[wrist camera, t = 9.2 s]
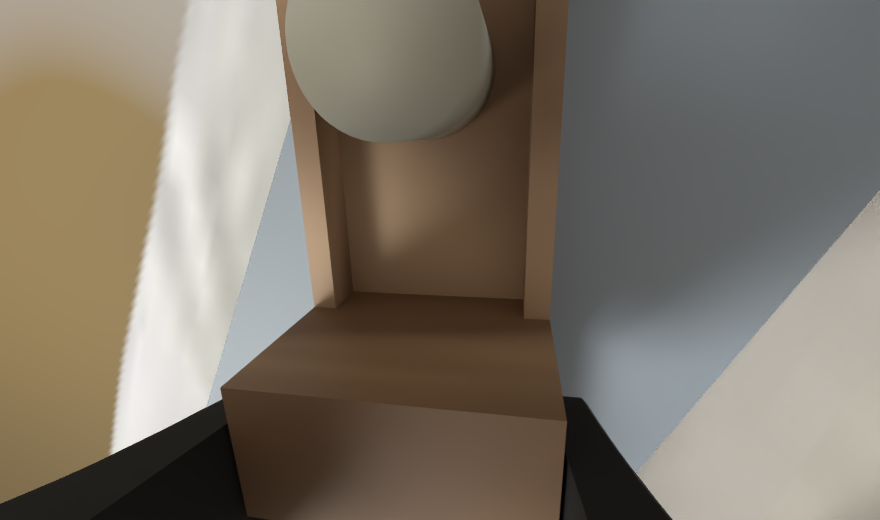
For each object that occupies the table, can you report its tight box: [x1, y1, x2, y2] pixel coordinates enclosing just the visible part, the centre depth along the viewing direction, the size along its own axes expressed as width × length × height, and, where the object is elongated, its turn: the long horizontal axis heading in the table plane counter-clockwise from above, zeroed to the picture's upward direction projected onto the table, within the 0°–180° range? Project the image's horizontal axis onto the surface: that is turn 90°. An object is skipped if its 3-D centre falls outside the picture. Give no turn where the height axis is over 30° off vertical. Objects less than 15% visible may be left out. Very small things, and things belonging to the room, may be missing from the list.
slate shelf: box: [207, 0, 880, 473], centre depth 10 cm, size 26×12×7 cm, turn 155°
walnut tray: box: [220, 0, 569, 520], centre depth 8 cm, size 18×5×5 cm, turn 1°
